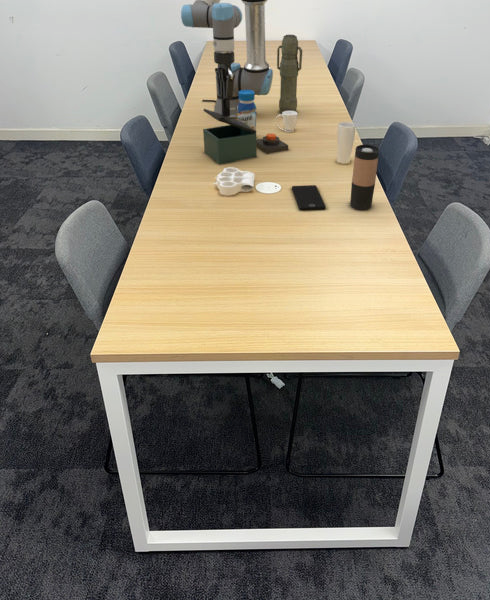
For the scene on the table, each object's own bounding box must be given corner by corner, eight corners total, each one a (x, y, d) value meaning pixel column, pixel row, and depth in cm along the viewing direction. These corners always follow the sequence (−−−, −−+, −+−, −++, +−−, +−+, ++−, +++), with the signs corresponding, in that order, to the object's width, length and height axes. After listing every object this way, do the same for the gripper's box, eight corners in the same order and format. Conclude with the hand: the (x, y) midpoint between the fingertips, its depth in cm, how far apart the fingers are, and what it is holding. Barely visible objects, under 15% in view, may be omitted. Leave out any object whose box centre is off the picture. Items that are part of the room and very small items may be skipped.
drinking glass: (353, 160, 222) (357, 122, 213) (349, 166, 217) (353, 128, 208) (337, 158, 224) (340, 120, 215) (333, 163, 218) (336, 126, 210)
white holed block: (253, 196, 193) (211, 195, 193) (255, 176, 207) (216, 175, 207) (252, 187, 191) (210, 186, 191) (255, 167, 205) (215, 166, 205)
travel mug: (347, 201, 190) (353, 144, 178) (369, 200, 191) (376, 144, 179) (351, 211, 184) (358, 153, 172) (374, 210, 184) (382, 152, 173)
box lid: (218, 120, 207) (219, 118, 207) (203, 110, 217) (203, 108, 217) (256, 133, 217) (256, 131, 217) (239, 123, 228) (240, 120, 228)
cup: (296, 133, 248) (297, 115, 243) (274, 132, 249) (274, 114, 244) (297, 128, 254) (298, 110, 249) (276, 127, 254) (276, 109, 250)
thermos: (298, 115, 270) (302, 37, 250) (275, 114, 271) (276, 36, 251) (300, 110, 277) (304, 34, 257) (277, 109, 279) (278, 33, 258)
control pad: (253, 145, 235) (253, 135, 233) (274, 141, 239) (274, 132, 237) (267, 154, 226) (267, 144, 224) (288, 150, 230) (288, 140, 228)
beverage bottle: (259, 137, 243) (260, 90, 232) (251, 143, 237) (251, 95, 225) (242, 134, 246) (242, 88, 234) (234, 140, 240) (232, 92, 228)
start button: (264, 138, 231) (264, 134, 230) (272, 137, 233) (272, 132, 232) (269, 141, 228) (269, 137, 227) (277, 139, 230) (277, 135, 229)
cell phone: (299, 210, 184) (299, 207, 183) (291, 188, 198) (291, 185, 198) (325, 209, 184) (325, 206, 184) (315, 187, 199) (315, 184, 198)
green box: (219, 164, 217) (218, 139, 211) (204, 152, 227) (203, 128, 221) (256, 157, 223) (256, 133, 218) (240, 146, 234) (240, 123, 228)
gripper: (207, 48, 205) (210, 112, 218) (222, 55, 196) (224, 122, 209) (225, 47, 208) (227, 110, 221) (241, 53, 199) (242, 119, 212)
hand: (226, 116), depth 215 cm, fingers closed
